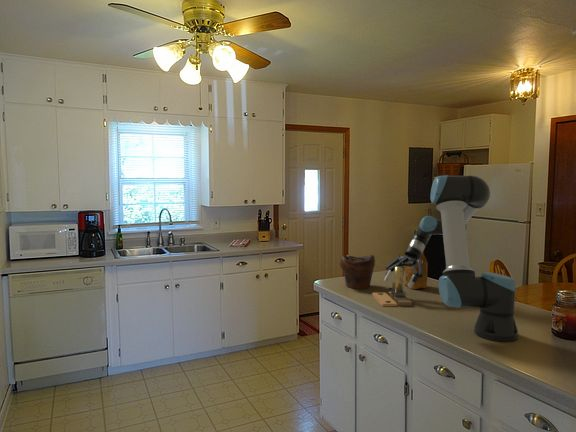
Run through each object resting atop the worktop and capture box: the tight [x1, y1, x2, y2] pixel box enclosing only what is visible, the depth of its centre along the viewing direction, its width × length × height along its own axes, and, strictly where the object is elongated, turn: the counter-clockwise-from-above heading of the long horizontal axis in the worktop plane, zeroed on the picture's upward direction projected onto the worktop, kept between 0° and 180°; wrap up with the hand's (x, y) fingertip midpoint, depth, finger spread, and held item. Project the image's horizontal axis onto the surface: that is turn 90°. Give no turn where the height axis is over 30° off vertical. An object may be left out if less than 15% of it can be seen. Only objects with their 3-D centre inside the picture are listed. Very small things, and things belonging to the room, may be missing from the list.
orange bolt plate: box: [371, 292, 398, 307], centre depth 208 cm, size 20×7×1 cm, turn 2°
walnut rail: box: [385, 281, 413, 307], centre depth 208 cm, size 20×8×7 cm, turn 2°
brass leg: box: [389, 266, 407, 297], centre depth 209 cm, size 6×7×14 cm
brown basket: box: [339, 254, 376, 290], centre depth 235 cm, size 18×20×18 cm
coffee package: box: [404, 249, 429, 290], centre depth 234 cm, size 10×12×22 cm
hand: (396, 284), depth 208 cm, fingers open, 13 cm apart
